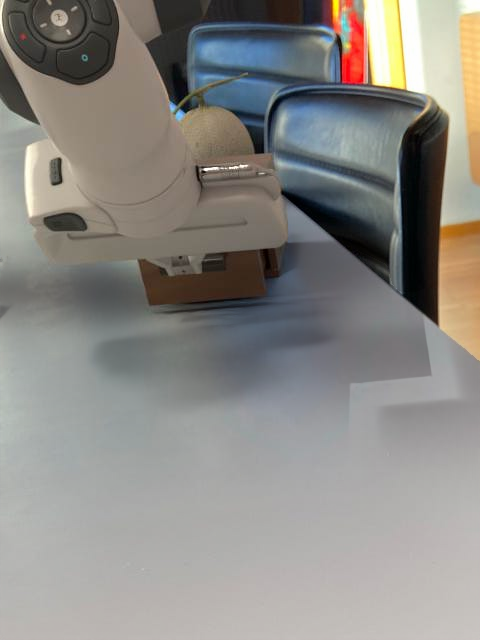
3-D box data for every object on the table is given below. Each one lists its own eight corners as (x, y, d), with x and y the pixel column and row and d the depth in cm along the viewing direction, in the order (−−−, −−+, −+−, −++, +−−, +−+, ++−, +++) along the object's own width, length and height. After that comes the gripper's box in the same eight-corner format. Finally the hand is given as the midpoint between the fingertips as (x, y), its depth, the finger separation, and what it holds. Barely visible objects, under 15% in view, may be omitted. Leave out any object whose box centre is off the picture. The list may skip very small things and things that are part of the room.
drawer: (262, 309, 96) (246, 223, 92) (141, 320, 96) (119, 234, 91) (274, 259, 110) (261, 182, 105) (168, 269, 109) (150, 191, 105)
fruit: (162, 207, 136) (133, 82, 128) (231, 189, 143) (208, 68, 134) (209, 217, 131) (181, 86, 122) (278, 197, 137) (257, 71, 128)
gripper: (271, 126, 79) (298, 225, 92) (4, 147, 78) (71, 244, 92) (277, 200, 78) (304, 290, 91) (7, 223, 77) (74, 310, 91)
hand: (185, 267), depth 91 cm, fingers closed
